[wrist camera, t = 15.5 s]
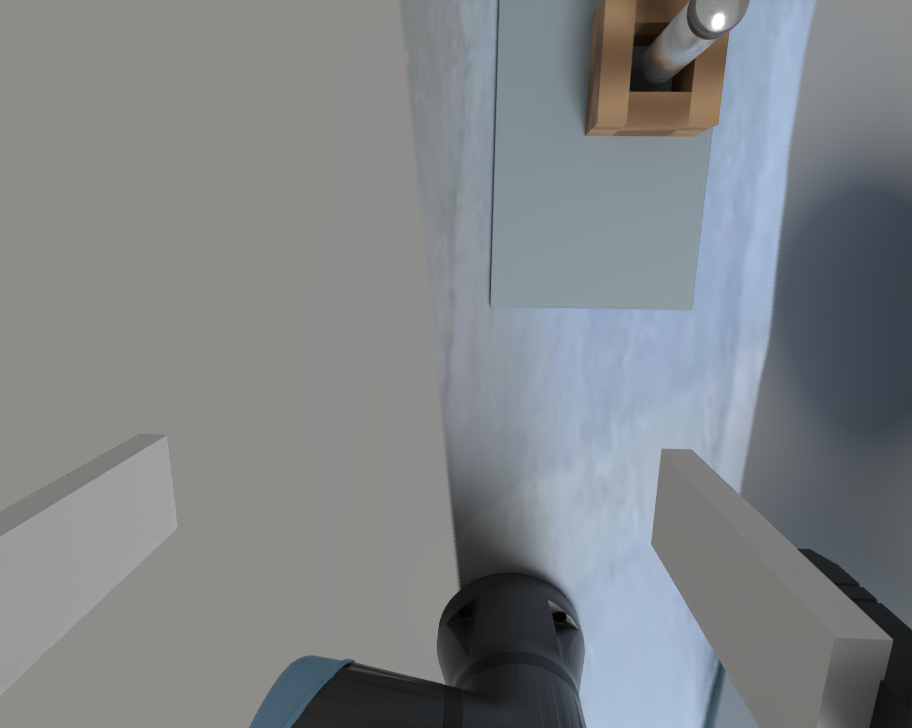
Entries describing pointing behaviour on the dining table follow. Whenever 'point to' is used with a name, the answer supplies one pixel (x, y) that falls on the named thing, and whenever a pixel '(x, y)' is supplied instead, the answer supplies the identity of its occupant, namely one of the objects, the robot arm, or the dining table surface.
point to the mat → (584, 180)
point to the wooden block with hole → (648, 113)
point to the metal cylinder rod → (684, 41)
